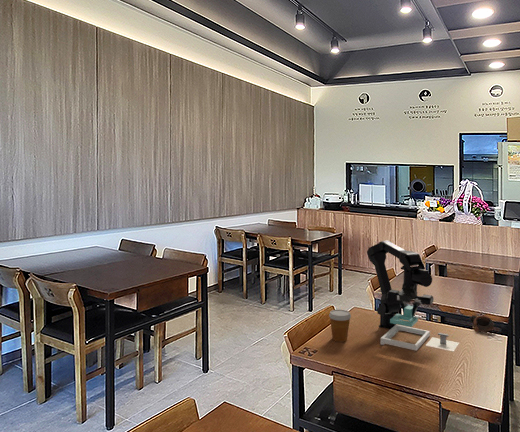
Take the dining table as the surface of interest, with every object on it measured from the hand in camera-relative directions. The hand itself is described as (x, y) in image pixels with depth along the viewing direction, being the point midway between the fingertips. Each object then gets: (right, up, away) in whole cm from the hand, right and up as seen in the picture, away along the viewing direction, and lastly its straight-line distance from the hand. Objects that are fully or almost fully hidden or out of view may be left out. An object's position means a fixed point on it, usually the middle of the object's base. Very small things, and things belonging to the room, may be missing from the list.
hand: (409, 315), depth 192 cm
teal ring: (-3, -1, -4) cm, 5 cm away
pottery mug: (+36, -9, +9) cm, 39 cm away
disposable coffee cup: (-31, -10, 0) cm, 32 cm away
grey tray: (-3, -10, -3) cm, 11 cm away
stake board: (+11, -11, -9) cm, 18 cm away
